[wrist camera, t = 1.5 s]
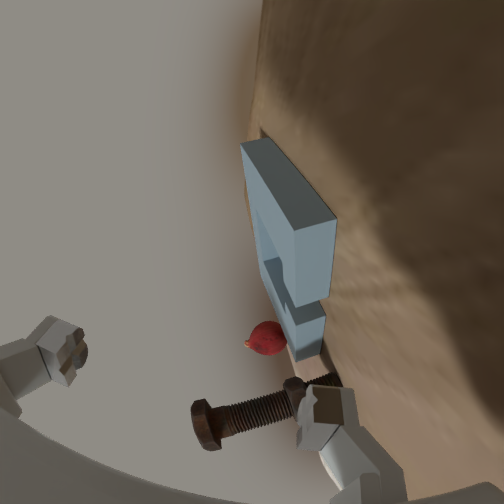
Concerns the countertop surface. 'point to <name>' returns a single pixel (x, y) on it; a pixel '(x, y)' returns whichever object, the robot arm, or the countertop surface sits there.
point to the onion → (267, 338)
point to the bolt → (251, 411)
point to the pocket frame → (290, 243)
